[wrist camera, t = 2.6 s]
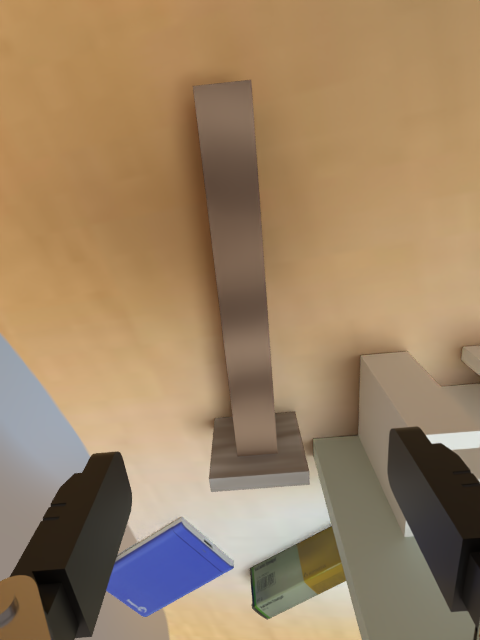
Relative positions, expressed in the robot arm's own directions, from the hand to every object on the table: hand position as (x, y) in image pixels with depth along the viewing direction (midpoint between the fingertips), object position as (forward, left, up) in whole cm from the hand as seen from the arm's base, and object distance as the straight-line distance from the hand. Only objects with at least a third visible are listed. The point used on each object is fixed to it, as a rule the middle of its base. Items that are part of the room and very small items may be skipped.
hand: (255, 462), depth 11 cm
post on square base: (0, 0, -19) cm, 19 cm away
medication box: (+29, +4, -19) cm, 35 cm away
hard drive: (+30, -11, -19) cm, 37 cm away
